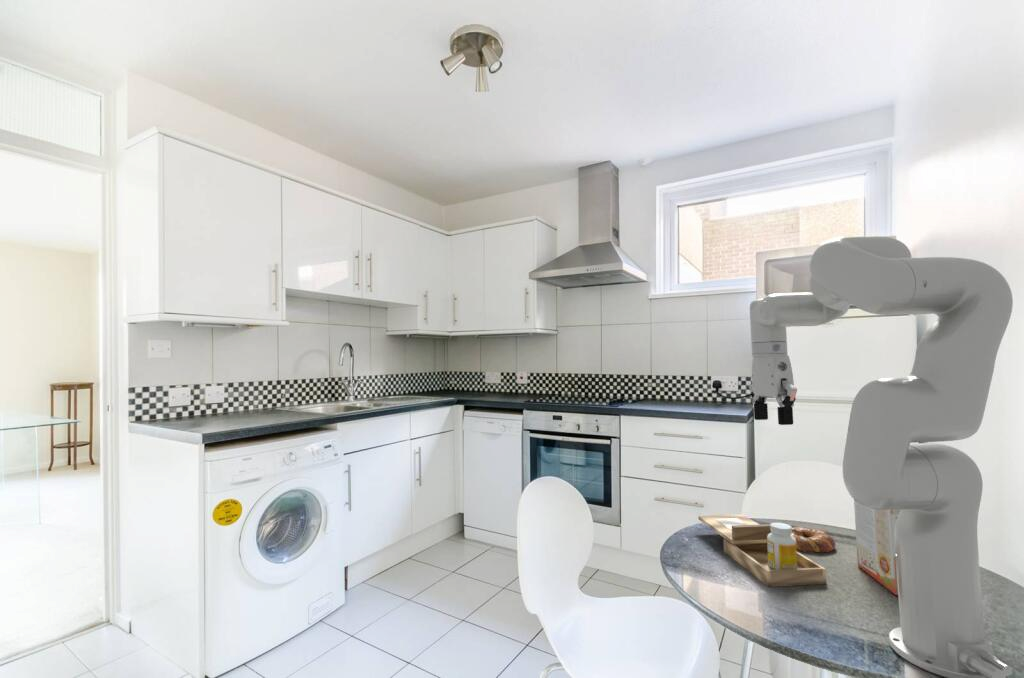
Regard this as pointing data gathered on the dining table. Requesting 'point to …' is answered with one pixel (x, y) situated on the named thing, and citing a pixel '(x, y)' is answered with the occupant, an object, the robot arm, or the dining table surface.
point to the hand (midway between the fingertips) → (773, 421)
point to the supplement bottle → (781, 547)
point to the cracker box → (877, 544)
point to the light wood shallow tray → (757, 564)
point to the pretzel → (812, 540)
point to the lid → (737, 528)
